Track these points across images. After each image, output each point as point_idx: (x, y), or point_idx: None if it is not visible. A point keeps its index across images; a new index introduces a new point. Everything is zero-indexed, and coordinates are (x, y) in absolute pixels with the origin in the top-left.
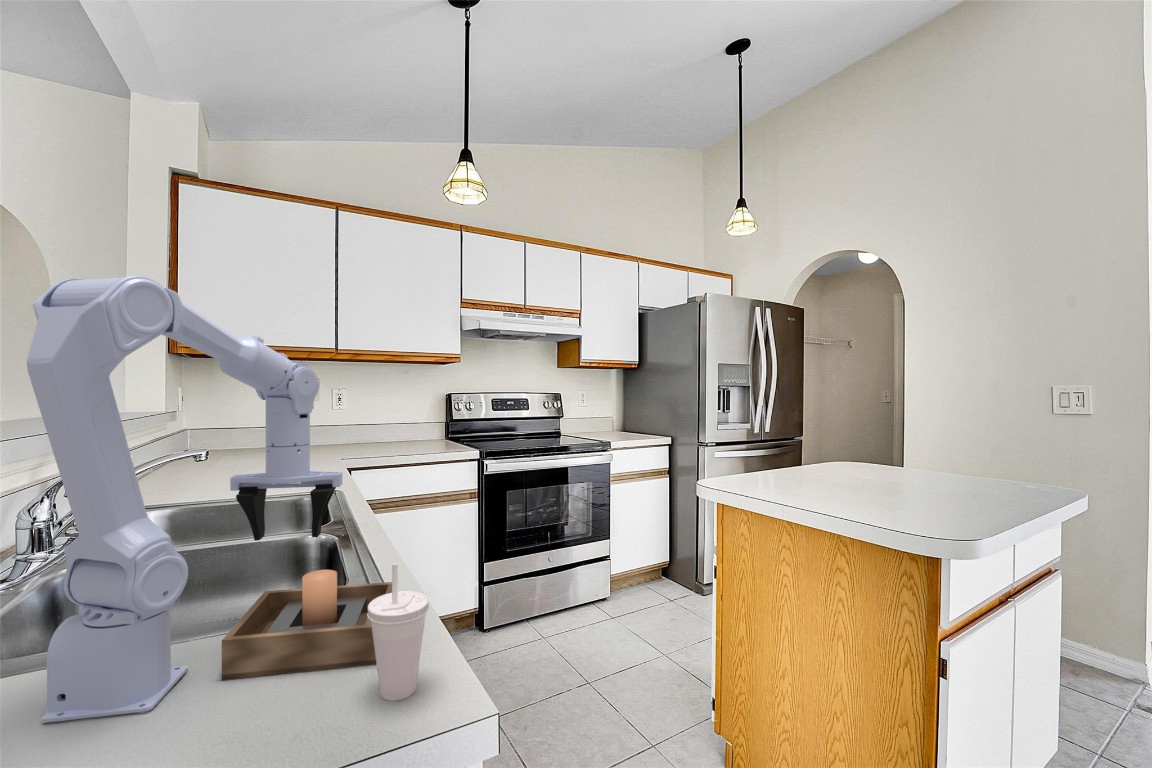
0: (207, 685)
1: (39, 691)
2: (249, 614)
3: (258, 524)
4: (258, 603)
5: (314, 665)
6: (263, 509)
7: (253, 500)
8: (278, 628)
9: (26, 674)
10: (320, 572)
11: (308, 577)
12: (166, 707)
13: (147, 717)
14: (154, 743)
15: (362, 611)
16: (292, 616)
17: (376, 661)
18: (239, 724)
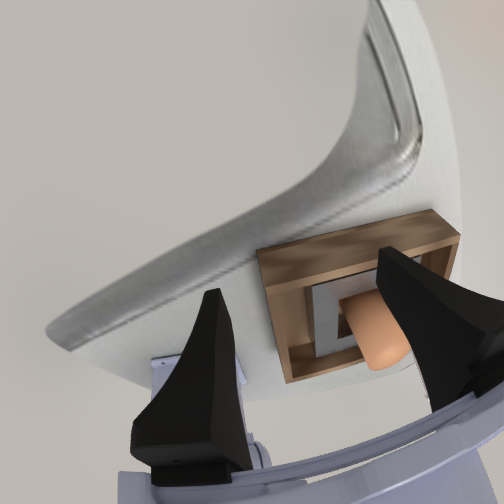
0: (268, 355)
1: (123, 368)
2: (285, 347)
3: (233, 361)
4: (280, 323)
5: None
6: (217, 361)
7: (249, 457)
8: (326, 343)
9: (79, 350)
10: (390, 350)
11: (376, 364)
12: (253, 375)
13: (248, 382)
14: (273, 392)
15: None
16: (333, 320)
17: (415, 362)
18: (320, 376)
